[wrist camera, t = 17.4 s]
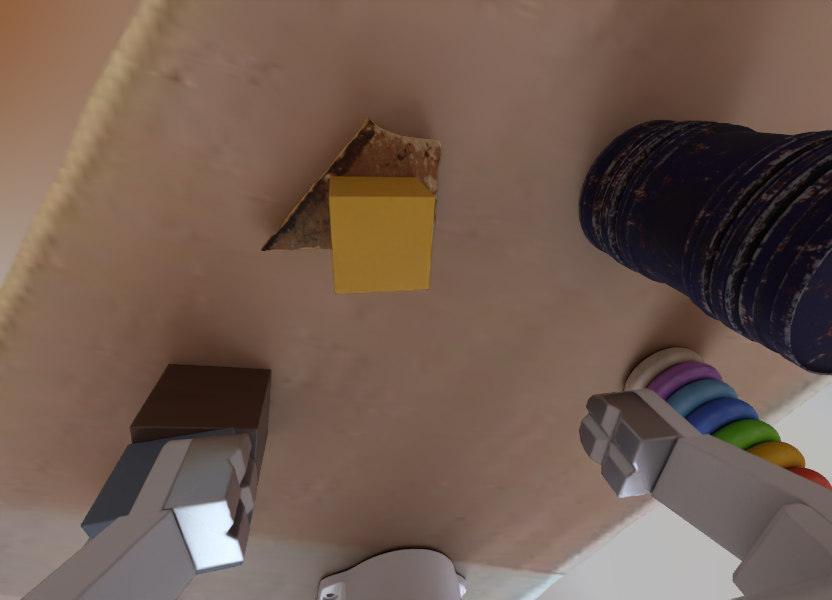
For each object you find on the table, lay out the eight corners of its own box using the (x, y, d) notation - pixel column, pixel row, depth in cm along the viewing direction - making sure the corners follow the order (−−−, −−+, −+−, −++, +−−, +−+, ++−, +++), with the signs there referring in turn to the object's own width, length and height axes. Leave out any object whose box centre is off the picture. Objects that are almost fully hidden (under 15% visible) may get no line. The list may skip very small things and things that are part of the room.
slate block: (257, 488, 26) (242, 565, 22) (164, 505, 26) (129, 589, 21) (233, 426, 23) (210, 501, 19) (128, 443, 23) (79, 525, 18)
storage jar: (718, 198, 29) (1021, 279, 16) (609, 279, 31) (805, 411, 18) (679, 82, 25) (1058, 69, 12) (554, 186, 26) (763, 274, 13)
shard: (264, 243, 25) (260, 253, 23) (247, 111, 21) (240, 112, 19) (428, 241, 27) (434, 250, 25) (437, 121, 23) (445, 123, 21)
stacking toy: (606, 382, 37) (819, 609, 21) (677, 328, 35) (971, 529, 19) (639, 418, 40) (843, 635, 24) (705, 371, 39) (971, 570, 22)
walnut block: (267, 435, 32) (254, 501, 27) (174, 434, 30) (140, 504, 25) (271, 369, 29) (257, 428, 24) (168, 363, 27) (129, 426, 22)
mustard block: (412, 256, 25) (429, 289, 21) (334, 258, 24) (334, 294, 20) (416, 177, 23) (435, 196, 18) (329, 176, 22) (328, 196, 17)
